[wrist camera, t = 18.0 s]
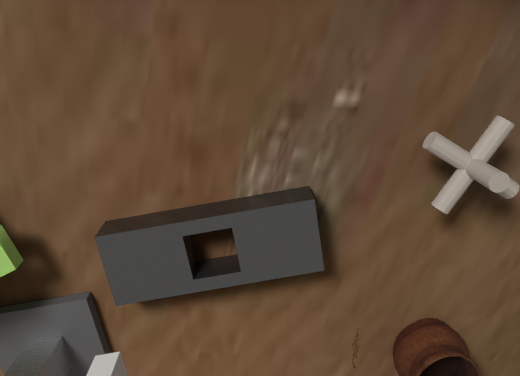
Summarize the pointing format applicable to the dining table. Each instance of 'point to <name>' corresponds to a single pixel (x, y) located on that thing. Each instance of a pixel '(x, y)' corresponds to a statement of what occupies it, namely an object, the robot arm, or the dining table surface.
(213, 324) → the dining table surface
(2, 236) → the green block with pegs
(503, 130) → the white crossed rods piece
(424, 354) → the ceramic pot
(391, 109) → the dining table surface
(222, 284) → the grey block with hole
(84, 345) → the rubber mat
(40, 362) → the steel peg
